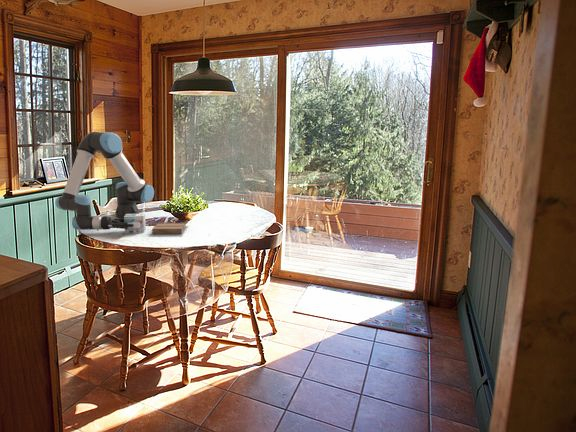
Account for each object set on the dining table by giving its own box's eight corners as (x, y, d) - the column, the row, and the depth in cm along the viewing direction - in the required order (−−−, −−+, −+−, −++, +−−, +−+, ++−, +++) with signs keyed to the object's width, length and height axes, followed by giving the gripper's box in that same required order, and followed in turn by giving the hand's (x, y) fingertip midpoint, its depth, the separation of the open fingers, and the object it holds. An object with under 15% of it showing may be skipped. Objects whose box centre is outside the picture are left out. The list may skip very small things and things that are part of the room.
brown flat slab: (158, 227, 247) (158, 226, 246) (188, 227, 248) (188, 226, 248) (148, 238, 223) (148, 236, 223) (181, 238, 225) (181, 236, 225)
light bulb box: (124, 235, 230) (123, 216, 228) (126, 231, 236) (125, 213, 234) (144, 234, 232) (143, 215, 230) (146, 231, 238) (145, 213, 236)
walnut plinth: (158, 228, 242) (157, 223, 241) (185, 228, 243) (185, 223, 242) (152, 234, 228) (152, 229, 227) (181, 234, 229) (181, 229, 229)
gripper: (109, 224, 243) (147, 224, 245) (95, 234, 221) (137, 234, 223) (108, 212, 242) (147, 212, 244) (94, 221, 219) (136, 221, 221)
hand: (142, 222), depth 233 cm, fingers open, 10 cm apart
